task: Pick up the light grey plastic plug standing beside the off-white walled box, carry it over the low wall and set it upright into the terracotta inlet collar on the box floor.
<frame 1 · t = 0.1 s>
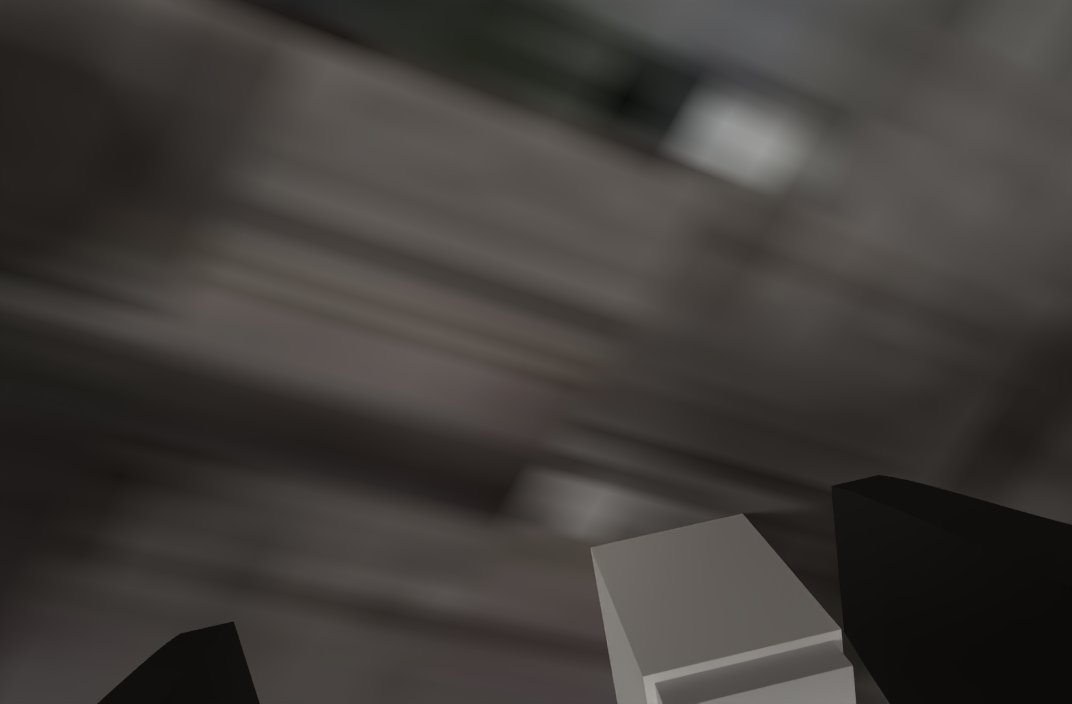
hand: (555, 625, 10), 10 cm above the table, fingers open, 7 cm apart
grey plug: (679, 614, 21), on the table
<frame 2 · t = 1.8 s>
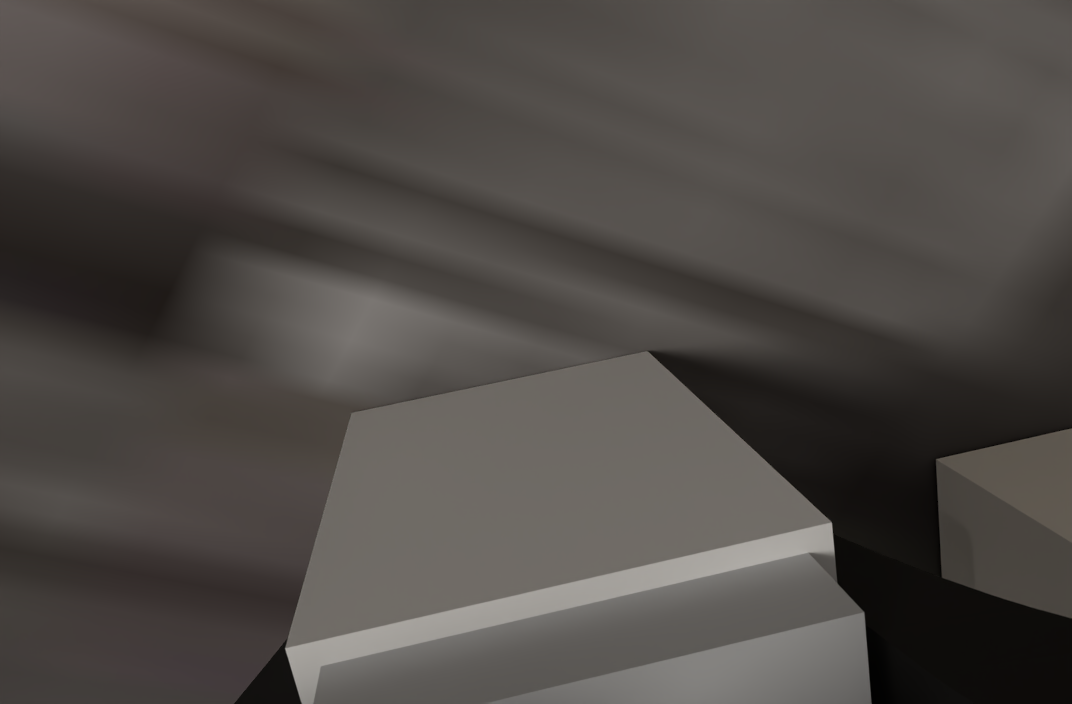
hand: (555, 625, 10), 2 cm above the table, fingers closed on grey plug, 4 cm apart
grey plug: (534, 548, 11), on the table, touching gripper
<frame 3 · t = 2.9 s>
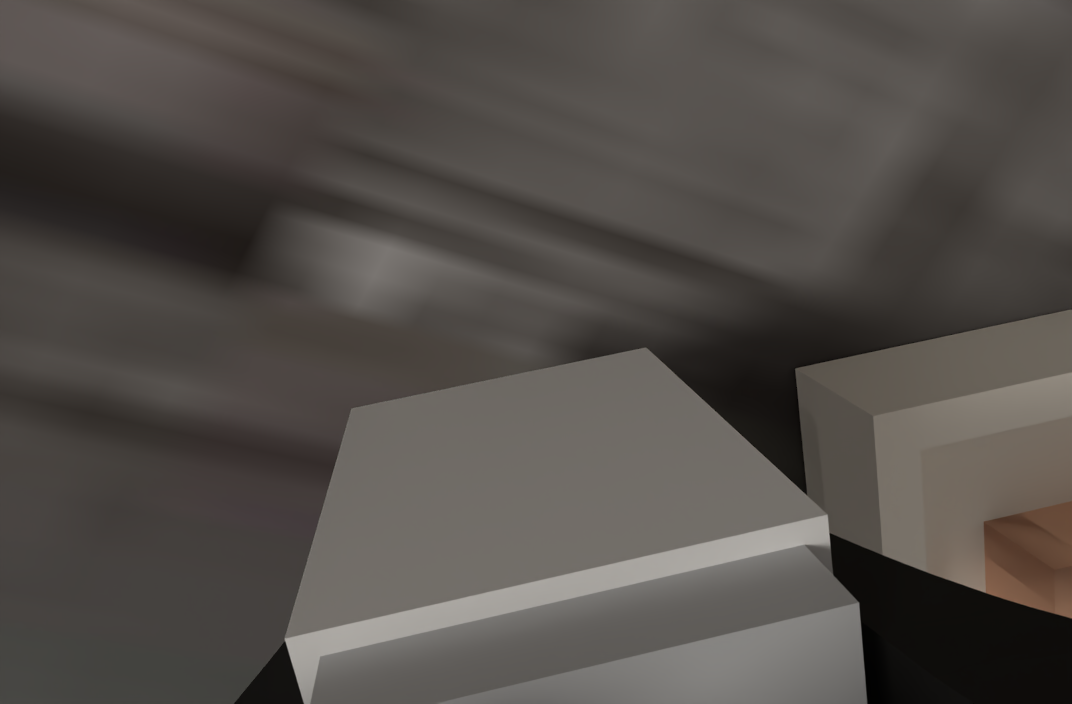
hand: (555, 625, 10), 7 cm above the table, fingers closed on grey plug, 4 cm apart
grey plug: (533, 544, 12), point 5 cm above the table, touching gripper
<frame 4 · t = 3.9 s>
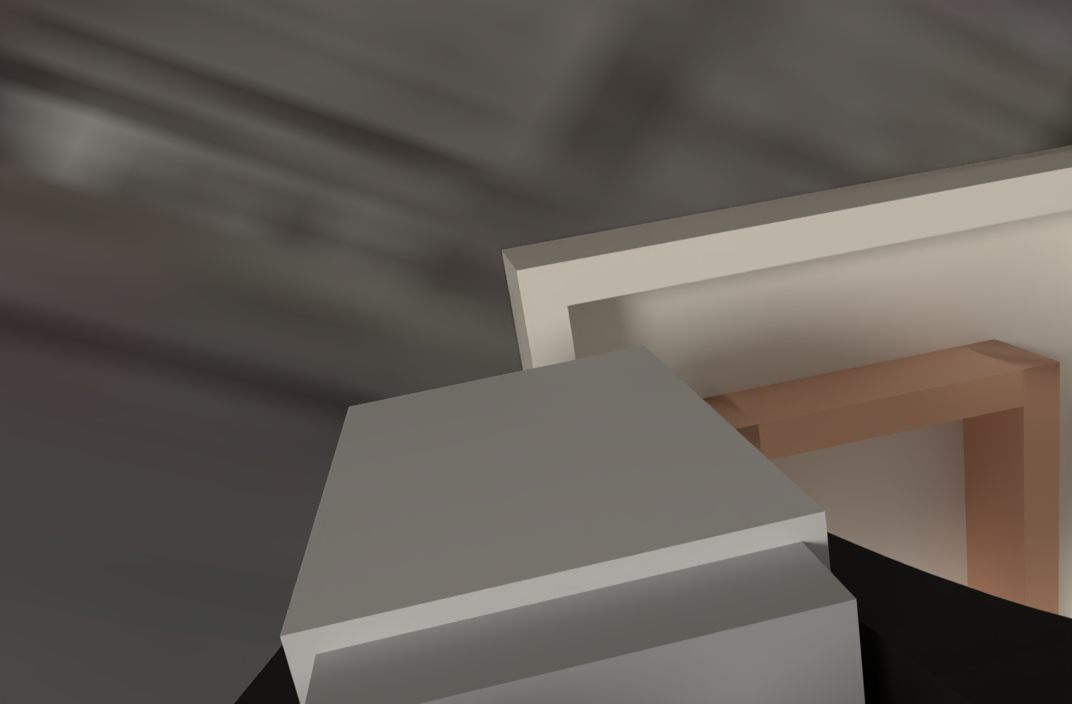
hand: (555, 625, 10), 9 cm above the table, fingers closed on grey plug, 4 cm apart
walled box: (838, 519, 20), on the table
grey plug: (531, 542, 11), point 7 cm above the table, touching gripper
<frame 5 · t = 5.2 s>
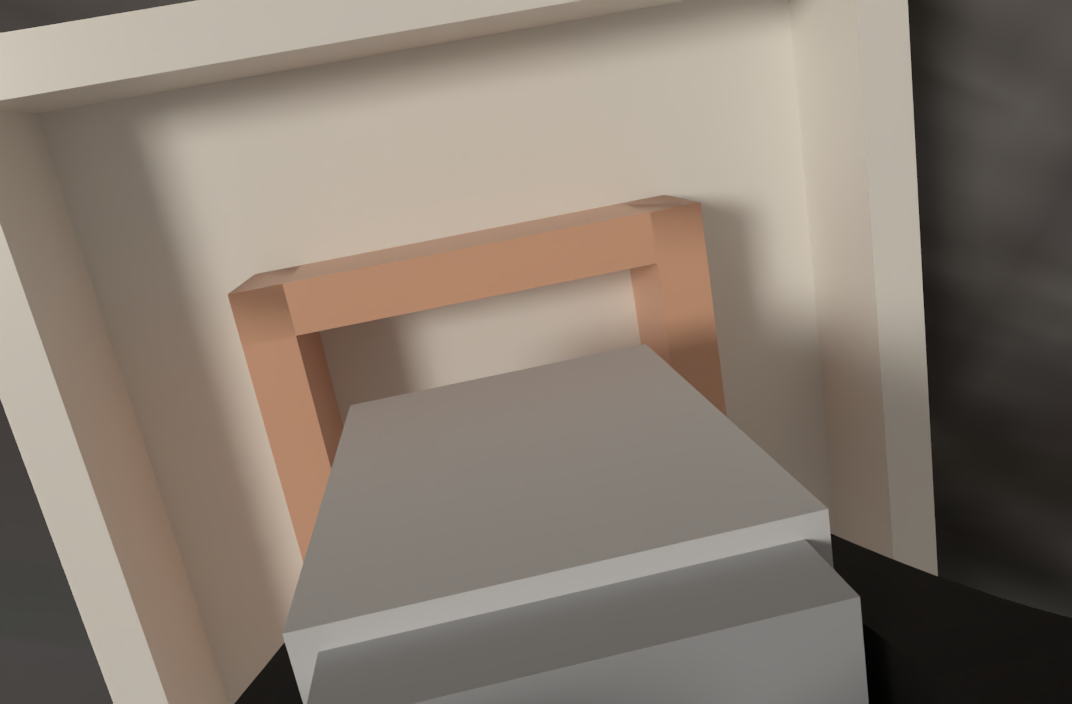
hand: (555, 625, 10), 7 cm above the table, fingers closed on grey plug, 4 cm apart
walled box: (503, 436, 16), on the table
grey plug: (533, 541, 11), point 5 cm above the table, touching gripper
when the fingers open (4 cm above the table, at t = 6.2 s): grey plug drops 1 cm, resting on walled box.
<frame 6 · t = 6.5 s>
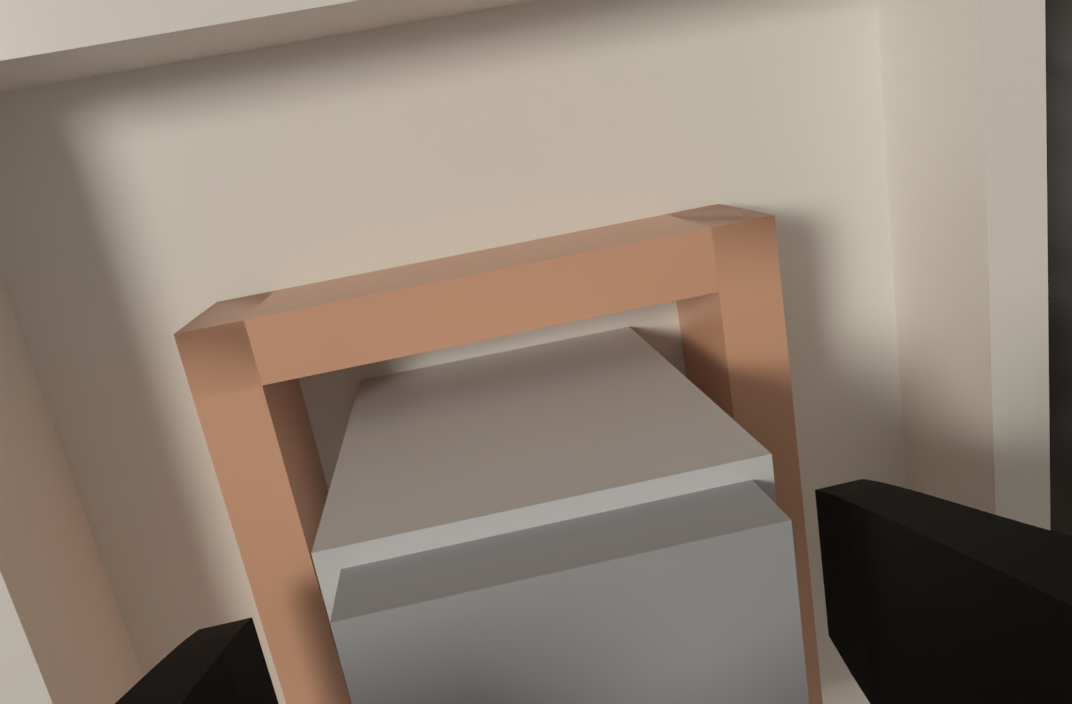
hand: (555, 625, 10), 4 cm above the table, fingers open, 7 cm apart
walled box: (519, 491, 13), on the table
grey plug: (525, 506, 13), point 1 cm above the table, touching walled box
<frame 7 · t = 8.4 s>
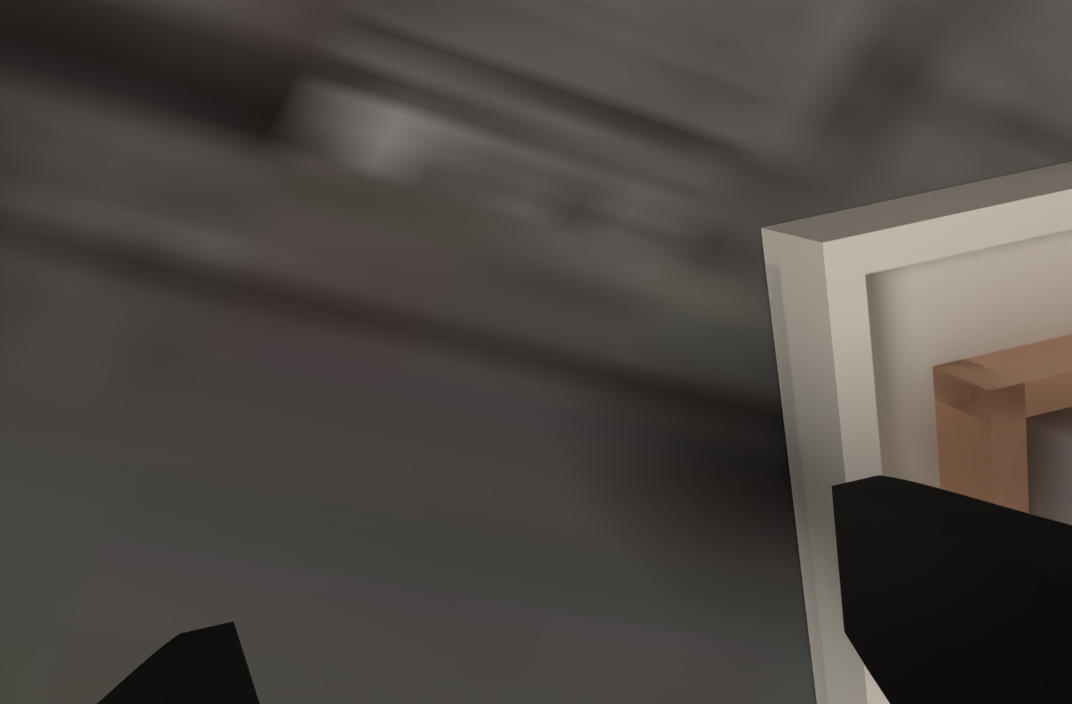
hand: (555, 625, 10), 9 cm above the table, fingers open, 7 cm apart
walled box: (1053, 477, 21), on the table
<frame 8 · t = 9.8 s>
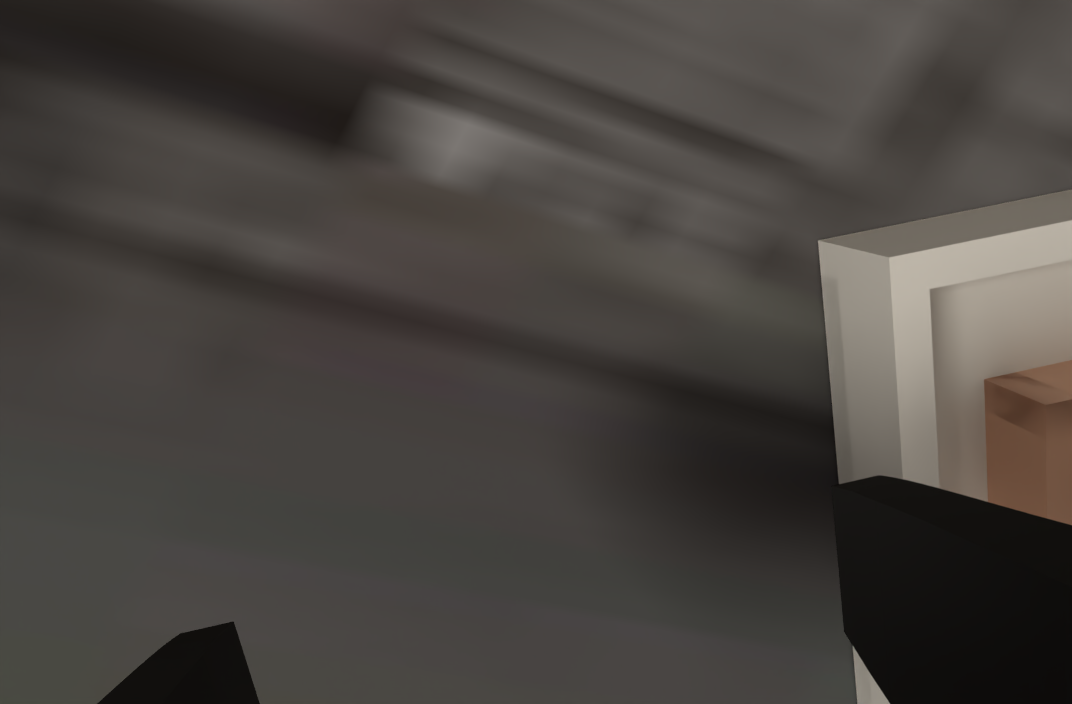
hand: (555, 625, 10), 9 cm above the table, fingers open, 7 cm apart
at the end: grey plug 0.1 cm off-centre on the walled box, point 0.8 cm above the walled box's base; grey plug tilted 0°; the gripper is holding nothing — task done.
